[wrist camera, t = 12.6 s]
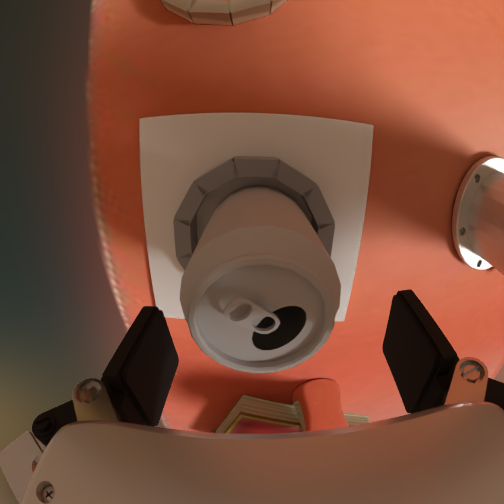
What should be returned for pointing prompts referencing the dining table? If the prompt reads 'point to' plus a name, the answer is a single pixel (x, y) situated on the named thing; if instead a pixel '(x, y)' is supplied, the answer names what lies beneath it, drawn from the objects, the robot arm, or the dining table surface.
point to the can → (260, 284)
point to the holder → (250, 183)
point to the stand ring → (222, 10)
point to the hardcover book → (268, 418)
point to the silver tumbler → (319, 406)
